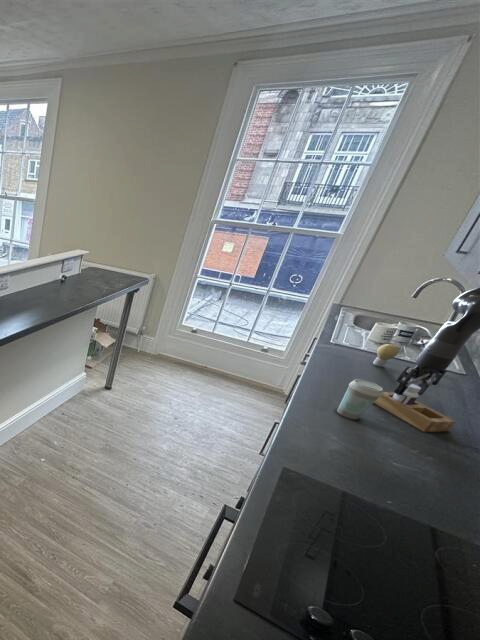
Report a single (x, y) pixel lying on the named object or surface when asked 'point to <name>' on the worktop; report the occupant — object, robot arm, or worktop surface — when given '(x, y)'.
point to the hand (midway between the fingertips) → (407, 394)
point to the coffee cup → (359, 398)
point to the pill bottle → (408, 395)
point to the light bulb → (385, 354)
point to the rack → (415, 414)
